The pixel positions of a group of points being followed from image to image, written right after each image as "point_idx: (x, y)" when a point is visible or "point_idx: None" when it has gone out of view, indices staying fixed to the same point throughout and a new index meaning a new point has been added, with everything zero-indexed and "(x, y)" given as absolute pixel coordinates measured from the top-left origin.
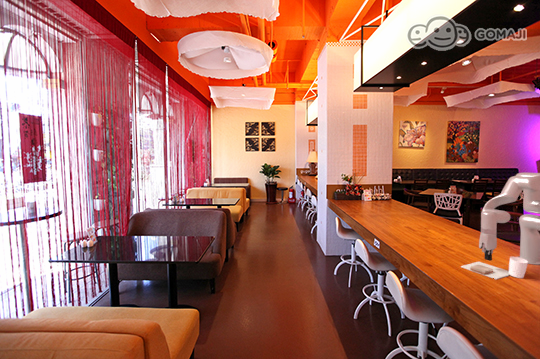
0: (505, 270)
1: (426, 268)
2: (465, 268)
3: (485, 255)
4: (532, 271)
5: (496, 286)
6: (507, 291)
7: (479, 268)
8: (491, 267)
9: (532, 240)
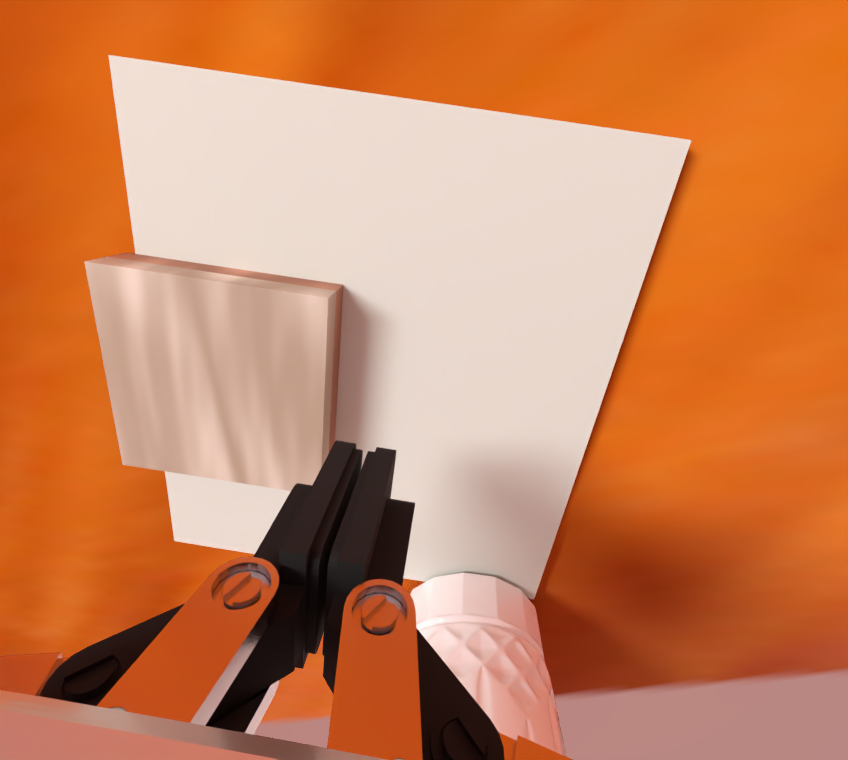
0: (535, 529)
1: None
2: (129, 160)
3: (269, 535)
4: (769, 662)
5: (29, 572)
6: (33, 635)
7: (157, 382)
8: (514, 398)
9: None
